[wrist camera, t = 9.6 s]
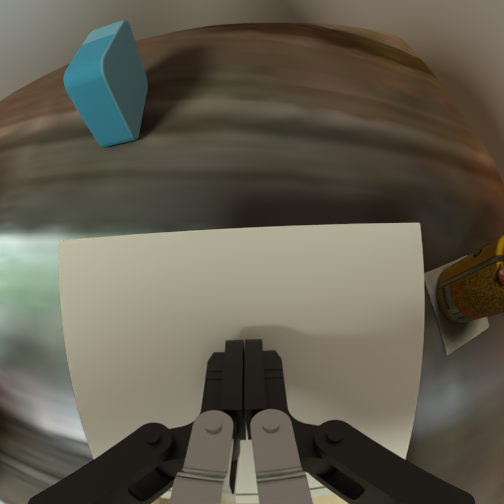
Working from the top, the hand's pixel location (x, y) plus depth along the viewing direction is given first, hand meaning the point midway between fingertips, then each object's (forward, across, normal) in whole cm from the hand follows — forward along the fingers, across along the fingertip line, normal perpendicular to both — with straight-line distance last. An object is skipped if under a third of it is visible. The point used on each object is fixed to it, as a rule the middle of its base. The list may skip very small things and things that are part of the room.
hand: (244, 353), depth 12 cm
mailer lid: (-1, 0, +2) cm, 2 cm away
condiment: (+10, -21, +6) cm, 24 cm away
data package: (+27, +15, -12) cm, 33 cm away
